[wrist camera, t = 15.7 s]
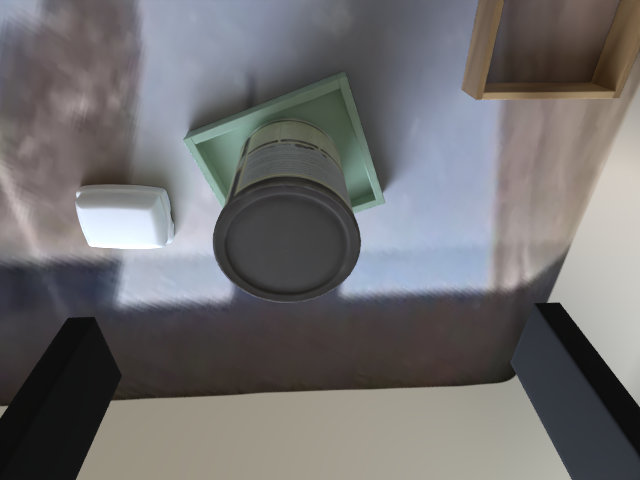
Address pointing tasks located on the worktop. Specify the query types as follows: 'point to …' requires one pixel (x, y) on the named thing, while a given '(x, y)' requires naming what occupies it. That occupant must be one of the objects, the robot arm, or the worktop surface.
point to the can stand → (607, 82)
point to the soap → (125, 216)
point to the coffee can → (287, 215)
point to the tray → (305, 103)
